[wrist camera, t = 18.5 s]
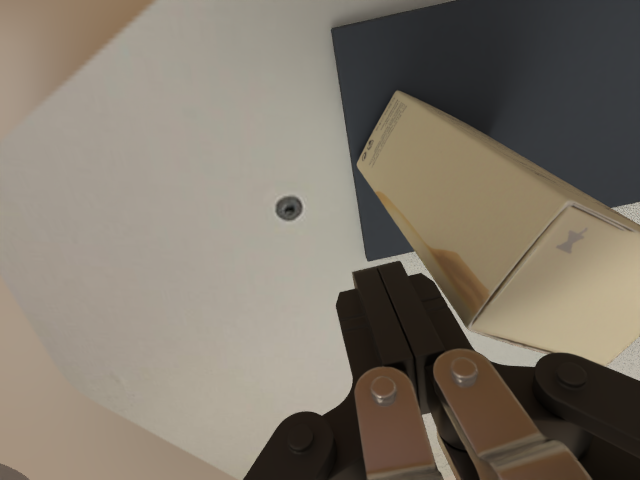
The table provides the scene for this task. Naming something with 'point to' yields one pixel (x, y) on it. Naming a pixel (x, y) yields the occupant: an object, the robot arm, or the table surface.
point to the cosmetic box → (506, 235)
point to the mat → (503, 89)
